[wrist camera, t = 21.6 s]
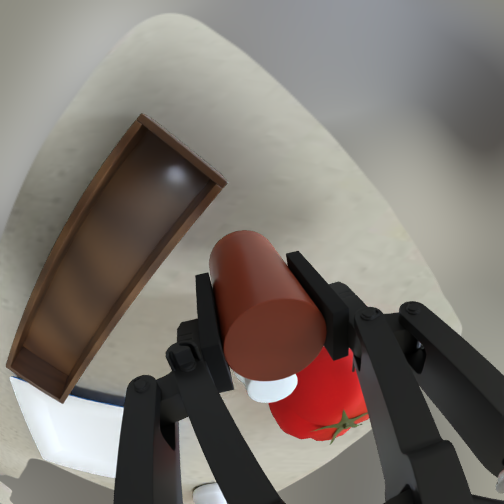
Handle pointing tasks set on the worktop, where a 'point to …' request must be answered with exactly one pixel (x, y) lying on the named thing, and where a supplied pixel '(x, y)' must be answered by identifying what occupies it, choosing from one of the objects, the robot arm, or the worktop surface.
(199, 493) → the vodka
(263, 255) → the spice tin
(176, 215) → the wooden tray
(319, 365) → the tomato
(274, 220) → the worktop surface
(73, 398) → the plate
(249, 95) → the worktop surface
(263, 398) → the pill bottle
